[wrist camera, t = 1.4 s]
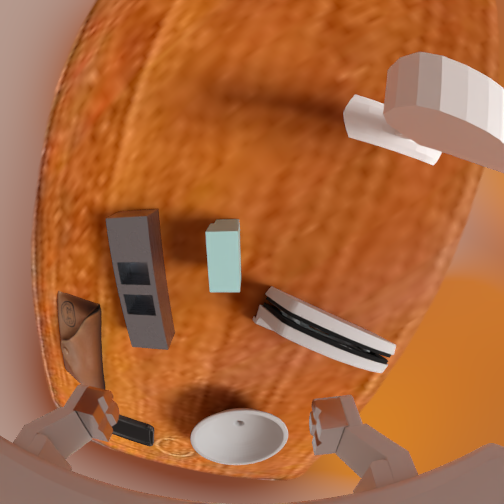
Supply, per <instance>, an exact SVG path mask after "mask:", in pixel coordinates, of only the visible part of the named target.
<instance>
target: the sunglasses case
mask: <svg viewBox="0 0 504 504" xmlns="http://www.w3.org/2000/svg"><path fill="white" fill-rule="evenodd" d="M58 318H59V329H60V336H61V349H62V353H63V359H64V364H65V368H66V370H67V371H68V372H69V373H70V374H71V375H72V376H73V377H74V378H75V379H76V380H77V381H78V382H79V383H80V384H83V385H87V386H92V387H96V388H100V389H105V381H104V374H103V363H102V346H101V308H100V304H96V303H94V302H91V301H87V300H85V299H82V298H79V297H76V296H73V295H70V294H67V293H62V292H60V291H58Z"/></svg>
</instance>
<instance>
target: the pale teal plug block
mask: <svg viewBox="0 0 504 504" xmlns="http://www.w3.org/2000/svg"><path fill="white" fill-rule="evenodd" d="M206 248H207V262H208V275H209V287H210V292H240V286H241V256H240V223H239V219H217V220H216V221H215V223H211V224H210V225H209V227H208V228H207V230H206Z"/></svg>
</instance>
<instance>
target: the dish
mask: <svg viewBox="0 0 504 504" xmlns="http://www.w3.org/2000/svg"><path fill="white" fill-rule="evenodd" d="M287 439H288V430H287V427H286V425H285V424H284V423H283V422H282V421H281V420H280V419H279V418H277V417H276V416H274V415H272V414H269V413H266V412H263V411H259V410H255V409H250V408H234V409H229V410H225V411H222V412H219V413H216V414H213V415H211V416H208V417H206V418H205V419H203V420H202V421H200V422H199V423H198V424H197V425H196V426H195V427H194V429H193V430H192V433H191V444H192V446H193V448H194V449H195V450H196V452H197V453H199V454H200V455H201V456H203V457H204V458H206V459H208V460H211V461H213V462H217V463H221V464H227V465H245V464H252V463H256V462H260V461H263V460H265V459H267V458H269V457H271V456H273V455H275V454H276V453H277V452H279V451H280V450H281V449H282V448H283V446H284V445H285V444H286V441H287Z"/></svg>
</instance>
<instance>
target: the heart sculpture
mask: <svg viewBox="0 0 504 504" xmlns="http://www.w3.org/2000/svg"><path fill="white" fill-rule="evenodd" d="M343 116H344V123H345V127H346V130H347V133H348V136H349V137H350V138H353V139H357V140H360V141H364V142H367V143H370V144H374V145H377V146H380V147H383V148H386V149H389V150H392V151H395V152H398V153H401V154H404V155H407V156H410V157H413V158H415V159H418V160H421V161H423V162H426V163H429V164H431V165H434V164H435V163H436V162H437V160H438V159H439V157H440V155H441V153H442V152H444V153H447V154H450V155H453V156H456V157H458V158H461V159H464V160H467V161H470V162H473V163H476V164H479V165H481V166H484V167H487V168H491V169H493V170H496V171H500V172H502V173H504V89H503V88H502V87H501V86H500V85H498V84H497V83H496V82H494V81H493V80H492V79H490V78H489V77H487V76H485V75H484V74H482V73H480V72H478V71H476V70H474V69H473V68H471V67H469V66H467V65H464V64H462V63H459V62H457V61H454V60H452V59H449V58H447V57H444V56H441V55H436V54H430V53H424V52H417V53H414V54H411V55H407V56H404V57H401V58H399V59H398V60H397V61H396V62H395V63H394V64H393V65H392V66H391V67H390V68H389V69H388V75H387V85H386V94H385V102H384V104H383V103H380V102H377V101H374V100H371V99H368V98H365V97H362V96H359V95H356V94H355V96H354V97H353V98H352V99H351V100H350V101H349V103H348V104H347V106H346V108H345V110H344V112H343Z"/></svg>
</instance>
